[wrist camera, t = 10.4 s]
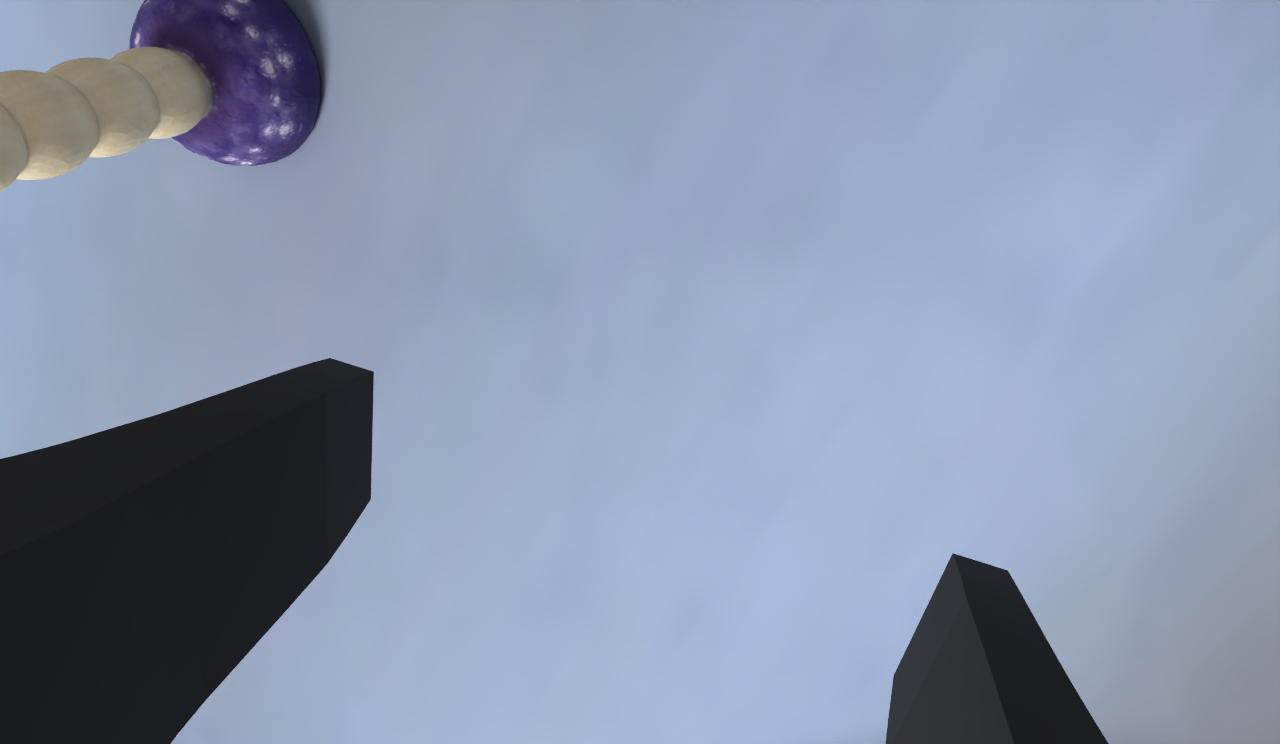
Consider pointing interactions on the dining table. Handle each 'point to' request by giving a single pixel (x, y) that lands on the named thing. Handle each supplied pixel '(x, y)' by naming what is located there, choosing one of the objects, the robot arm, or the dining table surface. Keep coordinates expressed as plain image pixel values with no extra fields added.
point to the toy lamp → (169, 91)
